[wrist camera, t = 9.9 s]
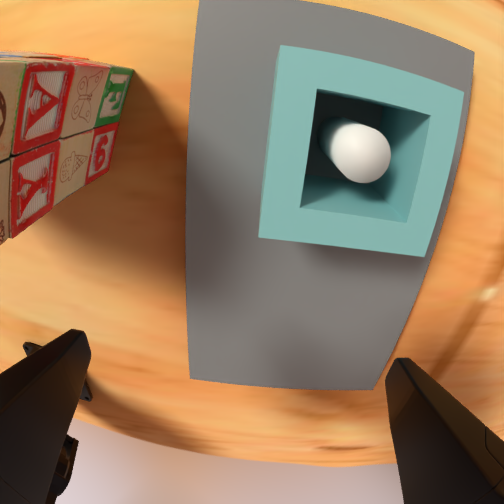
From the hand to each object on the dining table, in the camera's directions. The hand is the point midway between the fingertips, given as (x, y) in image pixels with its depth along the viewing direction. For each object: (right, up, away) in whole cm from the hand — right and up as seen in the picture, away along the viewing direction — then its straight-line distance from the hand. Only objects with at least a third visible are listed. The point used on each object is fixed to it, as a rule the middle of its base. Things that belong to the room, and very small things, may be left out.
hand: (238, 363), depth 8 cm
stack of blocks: (-17, +14, +6) cm, 22 cm away
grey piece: (+4, +4, +10) cm, 11 cm away
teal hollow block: (+4, +8, +6) cm, 11 cm away
